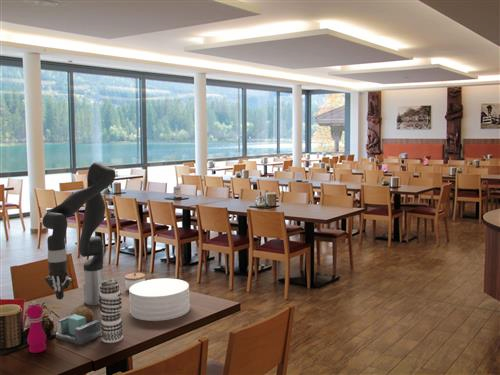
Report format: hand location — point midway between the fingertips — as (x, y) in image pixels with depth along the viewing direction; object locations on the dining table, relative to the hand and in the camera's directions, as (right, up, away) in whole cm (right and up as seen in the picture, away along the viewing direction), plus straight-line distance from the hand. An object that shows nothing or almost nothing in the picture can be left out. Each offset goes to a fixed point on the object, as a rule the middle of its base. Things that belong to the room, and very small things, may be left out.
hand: (59, 298), depth 235 cm
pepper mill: (-4, -17, -15) cm, 23 cm away
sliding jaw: (+4, -13, 0) cm, 14 cm away
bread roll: (+4, -13, +17) cm, 22 cm away
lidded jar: (+20, -7, +60) cm, 63 cm away
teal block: (+9, -14, -3) cm, 17 cm away
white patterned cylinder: (+24, -16, -6) cm, 29 cm away
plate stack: (+38, -11, +28) cm, 49 cm away
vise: (+9, -15, -3) cm, 18 cm away
